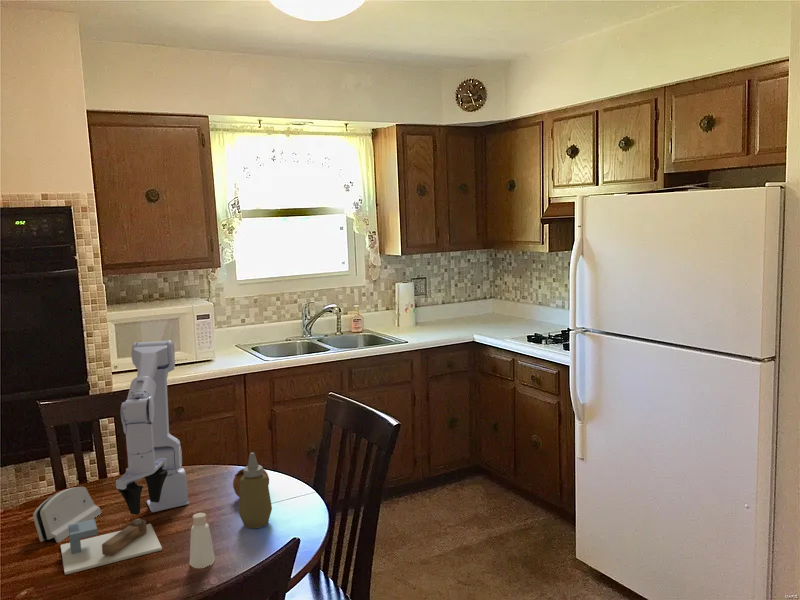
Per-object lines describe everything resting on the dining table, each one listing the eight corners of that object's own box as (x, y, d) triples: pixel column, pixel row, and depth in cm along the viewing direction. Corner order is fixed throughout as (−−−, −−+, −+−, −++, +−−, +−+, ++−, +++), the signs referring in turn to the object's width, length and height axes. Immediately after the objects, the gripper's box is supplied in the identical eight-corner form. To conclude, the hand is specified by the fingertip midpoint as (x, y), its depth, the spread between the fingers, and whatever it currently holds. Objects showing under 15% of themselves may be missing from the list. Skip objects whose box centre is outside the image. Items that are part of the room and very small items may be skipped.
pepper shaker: (191, 571, 144) (187, 522, 142) (188, 559, 149) (184, 512, 147) (216, 565, 146) (213, 517, 145) (213, 554, 151) (210, 507, 150)
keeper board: (150, 525, 166) (149, 504, 166) (162, 549, 154) (160, 526, 153) (60, 547, 156) (58, 524, 156) (64, 574, 144) (62, 550, 143)
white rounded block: (57, 543, 158) (41, 504, 158) (41, 548, 160) (25, 509, 159) (103, 512, 175) (88, 477, 174) (88, 517, 176) (74, 482, 175)
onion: (243, 514, 178) (226, 487, 174) (242, 491, 187) (226, 465, 182) (276, 499, 179) (260, 472, 175) (273, 477, 188) (258, 451, 183)
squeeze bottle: (279, 522, 166) (275, 452, 164) (251, 534, 160) (247, 461, 158) (260, 513, 171) (256, 445, 169) (232, 524, 165) (228, 454, 163)
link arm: (136, 528, 163) (135, 516, 162) (149, 530, 162) (148, 517, 161) (100, 554, 150) (99, 540, 150) (114, 555, 149) (112, 542, 149)
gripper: (148, 438, 161) (152, 493, 163) (102, 459, 147) (108, 518, 149) (172, 441, 159) (176, 496, 160) (128, 462, 145) (133, 522, 147)
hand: (145, 507), depth 154 cm, fingers open, 6 cm apart
